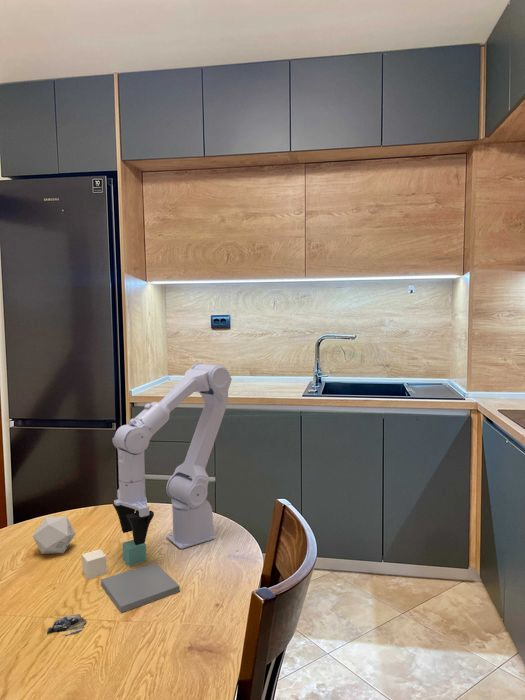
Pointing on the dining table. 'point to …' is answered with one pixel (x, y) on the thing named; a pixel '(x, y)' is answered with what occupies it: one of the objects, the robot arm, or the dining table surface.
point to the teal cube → (133, 553)
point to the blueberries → (68, 624)
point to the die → (54, 535)
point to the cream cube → (94, 564)
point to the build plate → (139, 586)
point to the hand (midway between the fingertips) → (133, 537)
